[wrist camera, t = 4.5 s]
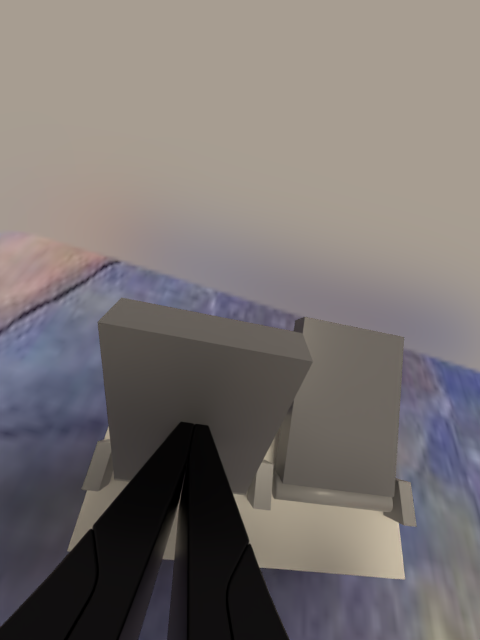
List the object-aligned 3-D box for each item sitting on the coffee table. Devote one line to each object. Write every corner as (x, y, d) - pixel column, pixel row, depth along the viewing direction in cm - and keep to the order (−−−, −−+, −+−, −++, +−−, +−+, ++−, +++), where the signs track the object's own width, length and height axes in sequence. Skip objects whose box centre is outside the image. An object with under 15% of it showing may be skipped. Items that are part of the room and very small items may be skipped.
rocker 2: (394, 519, 10) (405, 337, 11) (277, 506, 10) (302, 316, 11) (372, 499, 11) (384, 339, 13) (268, 487, 11) (292, 320, 12)
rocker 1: (243, 503, 10) (316, 362, 6) (112, 488, 9) (93, 320, 5) (243, 467, 11) (304, 329, 7) (127, 452, 10) (120, 293, 6)
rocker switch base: (355, 542, 14) (429, 597, 9) (100, 517, 12) (49, 569, 8) (349, 427, 16) (406, 430, 12) (137, 394, 14) (113, 384, 10)
